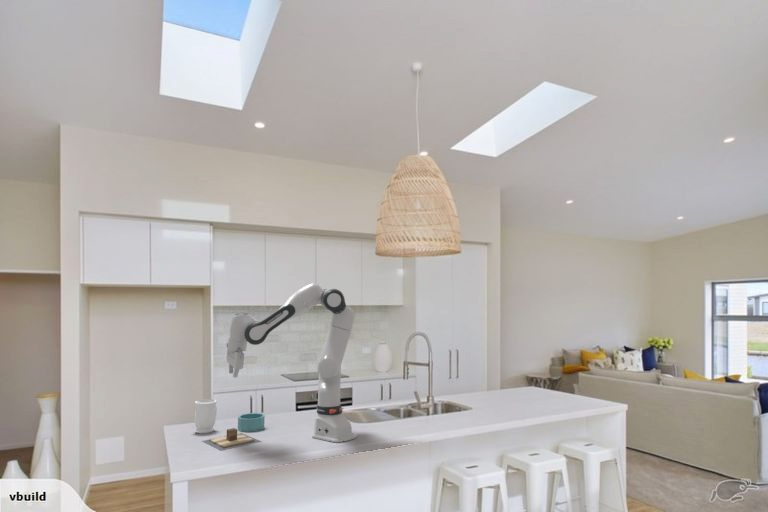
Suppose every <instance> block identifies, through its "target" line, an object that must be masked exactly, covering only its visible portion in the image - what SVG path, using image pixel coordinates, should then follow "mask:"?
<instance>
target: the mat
mask: <svg viewBox="0 0 768 512" xmlns="http://www.w3.org/2000/svg"><path fill="white" fill-rule="evenodd" d="M240 434H242V435H244V436H247V437H249V438H251V439H254V442H250V443H245V444H241V445H236V446H232V447H227V448H222V447H220V446H218V445H216V444H214V443H212V442H210V441H209V439H205V440H201V442H202V443H204V444H206V445H208V446H210V447H212V448H213V449H217V450H218V451H221V452H222V451H225V450H226V451H227V450H231V449H235V448H239V447H240V448H241V447H244V446H249V445H253V444H258V443H262V442H263V441H261V440H259V439H257V438H254V437H251V436H249V435H247V434H245V433H243V432H240Z"/></svg>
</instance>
